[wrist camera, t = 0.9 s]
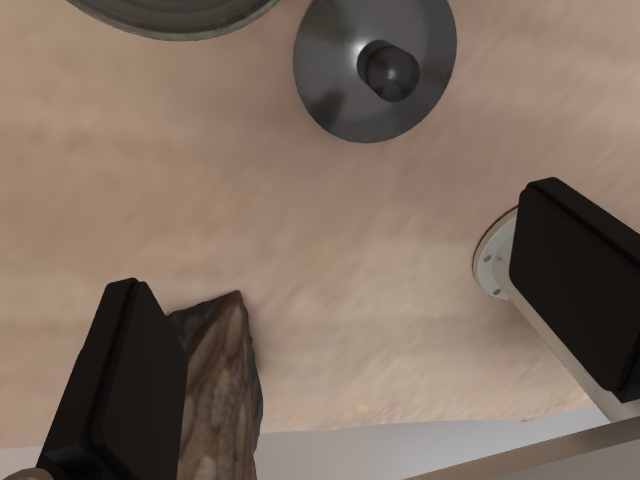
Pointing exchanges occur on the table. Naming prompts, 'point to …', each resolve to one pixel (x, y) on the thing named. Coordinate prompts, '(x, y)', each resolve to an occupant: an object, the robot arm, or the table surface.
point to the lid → (373, 64)
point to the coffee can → (176, 16)
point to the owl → (218, 391)
